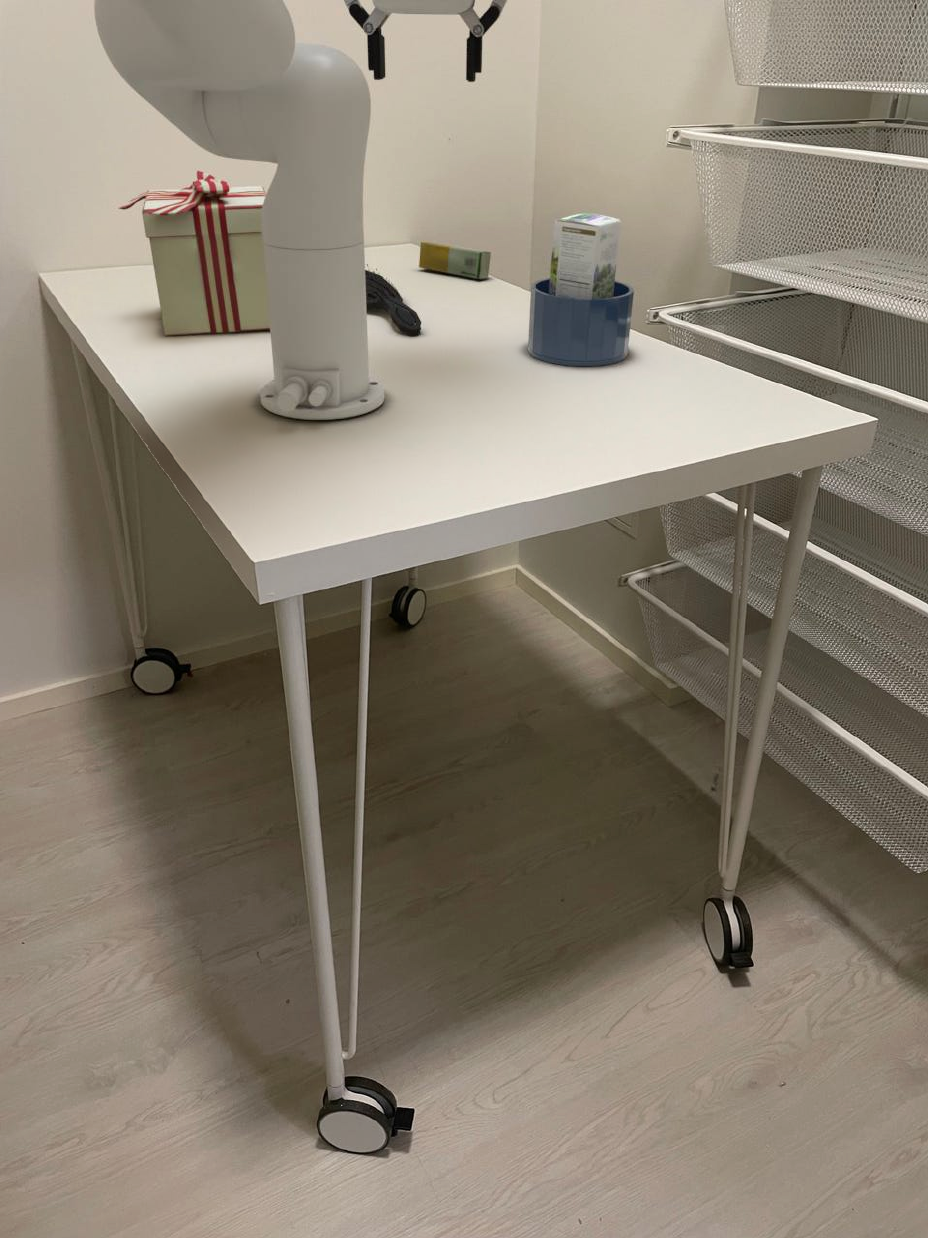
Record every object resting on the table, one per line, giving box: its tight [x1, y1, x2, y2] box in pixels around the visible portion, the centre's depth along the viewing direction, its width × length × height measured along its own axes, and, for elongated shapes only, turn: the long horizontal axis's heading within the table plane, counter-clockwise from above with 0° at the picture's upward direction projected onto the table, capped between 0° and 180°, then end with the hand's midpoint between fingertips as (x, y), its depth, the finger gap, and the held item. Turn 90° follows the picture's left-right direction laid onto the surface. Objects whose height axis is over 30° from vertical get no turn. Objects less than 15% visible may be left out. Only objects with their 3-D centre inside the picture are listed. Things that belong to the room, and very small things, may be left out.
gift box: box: [118, 170, 270, 337], centre depth 122 cm, size 17×18×17 cm
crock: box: [527, 277, 635, 367], centre depth 115 cm, size 12×12×8 cm
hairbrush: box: [365, 263, 422, 337], centre depth 131 cm, size 8×4×25 cm
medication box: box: [418, 241, 492, 281], centre depth 152 cm, size 12×3×4 cm, turn 55°
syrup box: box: [549, 213, 622, 299], centre depth 113 cm, size 6×6×14 cm
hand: (425, 79), depth 102 cm, fingers open, 9 cm apart
